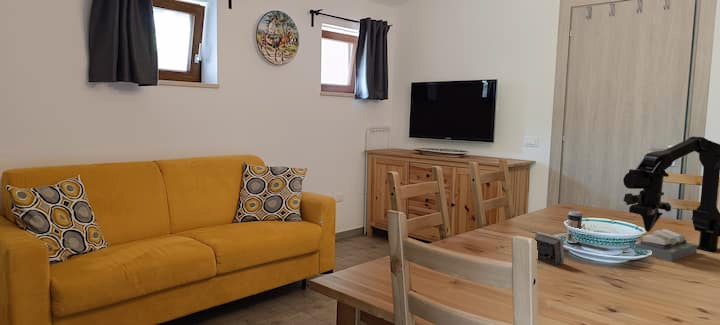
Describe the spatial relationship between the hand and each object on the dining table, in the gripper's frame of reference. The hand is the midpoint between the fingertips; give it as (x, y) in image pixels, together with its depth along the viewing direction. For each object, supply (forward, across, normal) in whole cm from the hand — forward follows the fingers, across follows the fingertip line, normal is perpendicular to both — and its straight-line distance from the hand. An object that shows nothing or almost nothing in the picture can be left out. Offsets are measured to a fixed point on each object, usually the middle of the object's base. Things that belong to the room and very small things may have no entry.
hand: (647, 231), depth 173 cm
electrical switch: (+8, +43, -11) cm, 45 cm away
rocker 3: (+3, -12, +3) cm, 13 cm away
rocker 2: (+3, -6, +3) cm, 7 cm away
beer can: (+8, +14, -20) cm, 25 cm away
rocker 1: (+3, 0, +3) cm, 4 cm away
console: (+8, -6, +4) cm, 11 cm away
